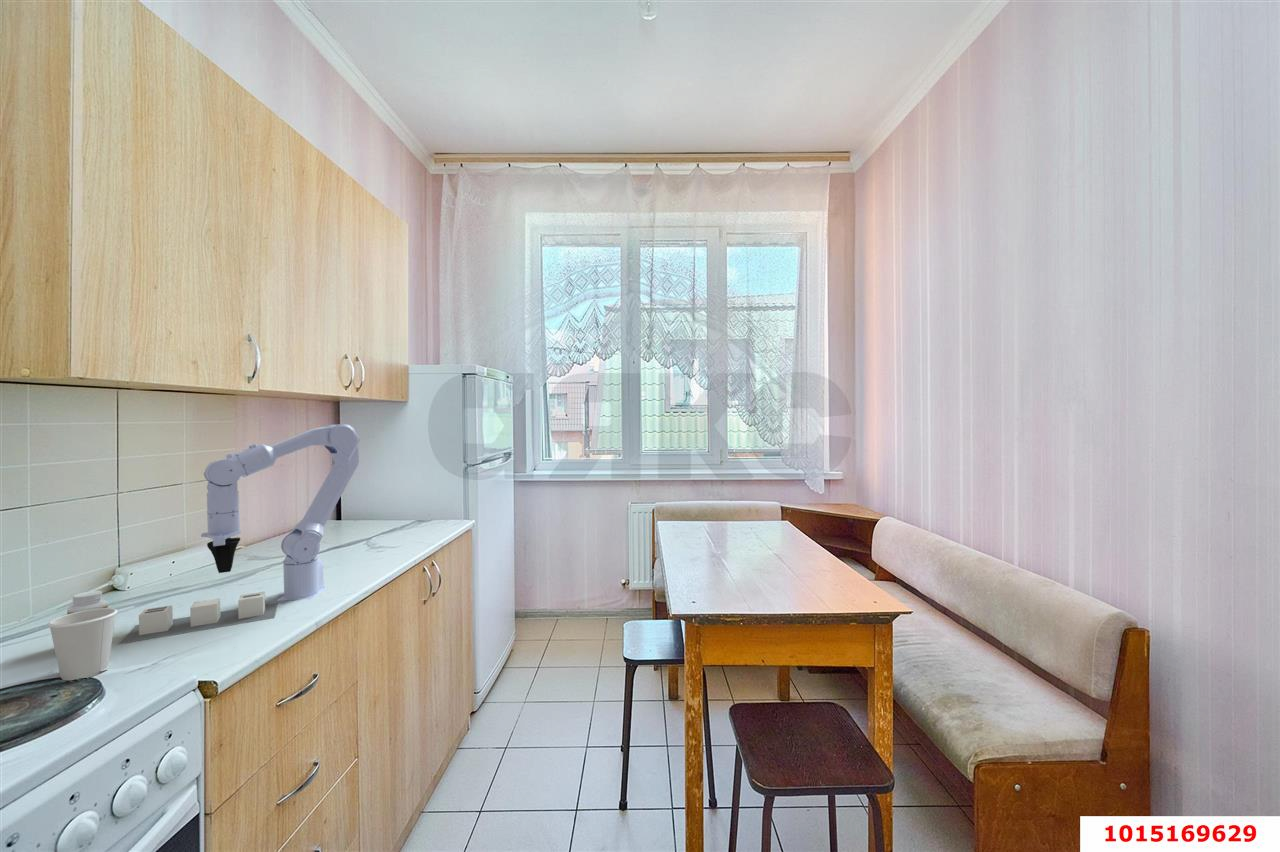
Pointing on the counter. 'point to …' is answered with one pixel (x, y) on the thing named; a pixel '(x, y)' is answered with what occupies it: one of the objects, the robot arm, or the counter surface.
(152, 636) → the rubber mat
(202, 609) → the plain block
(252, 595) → the one bar block
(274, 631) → the counter surface
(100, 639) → the dixie cup
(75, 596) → the supplement bottle
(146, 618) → the two bar block
